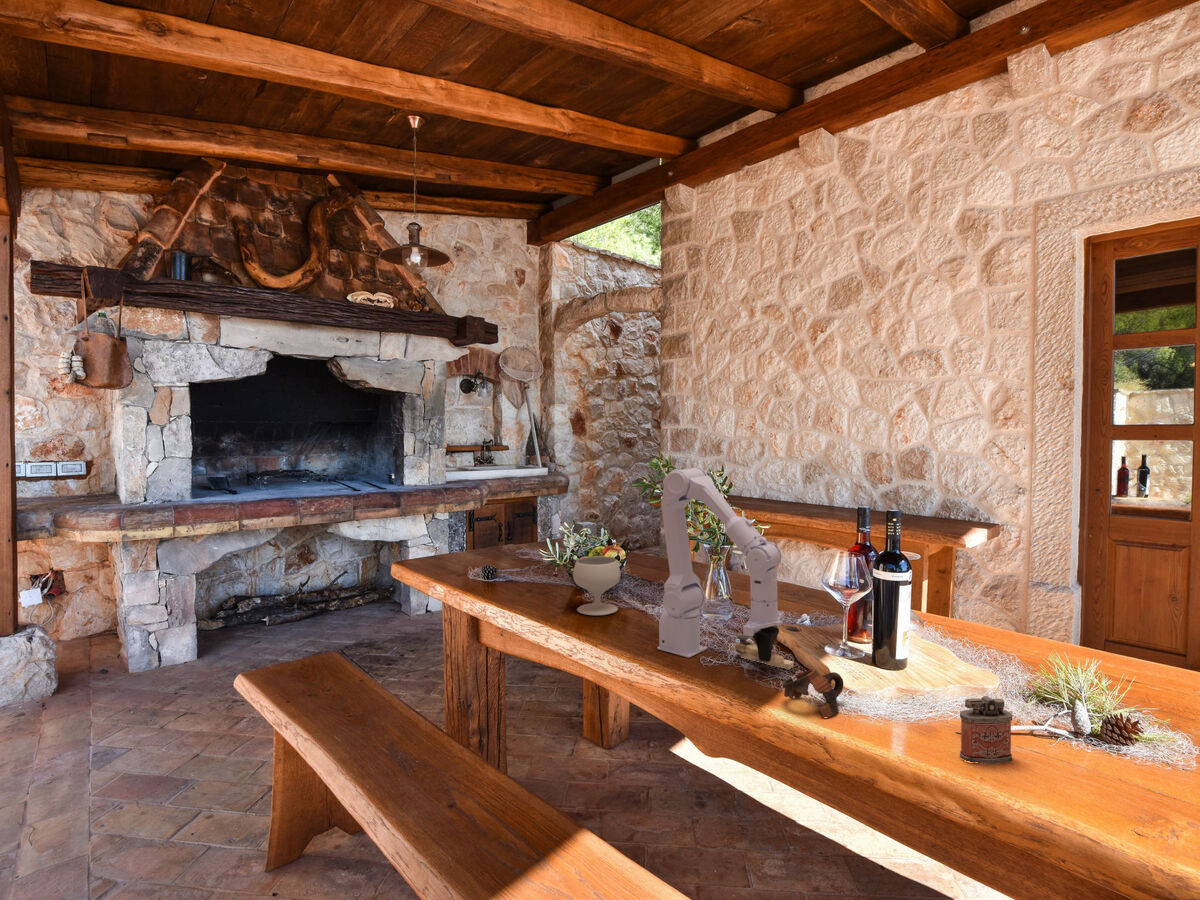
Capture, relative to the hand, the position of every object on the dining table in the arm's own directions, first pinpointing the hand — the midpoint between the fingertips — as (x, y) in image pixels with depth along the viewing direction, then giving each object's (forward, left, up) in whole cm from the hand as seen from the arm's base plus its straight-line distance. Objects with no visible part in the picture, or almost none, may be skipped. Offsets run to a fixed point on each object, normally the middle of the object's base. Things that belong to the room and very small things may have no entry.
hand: (765, 660), depth 142 cm
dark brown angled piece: (+16, -9, -3) cm, 19 cm away
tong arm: (-3, +3, 0) cm, 4 cm away
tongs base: (-3, +5, -3) cm, 6 cm away
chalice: (-60, +11, -3) cm, 61 cm away
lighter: (+45, -10, -3) cm, 46 cm away
